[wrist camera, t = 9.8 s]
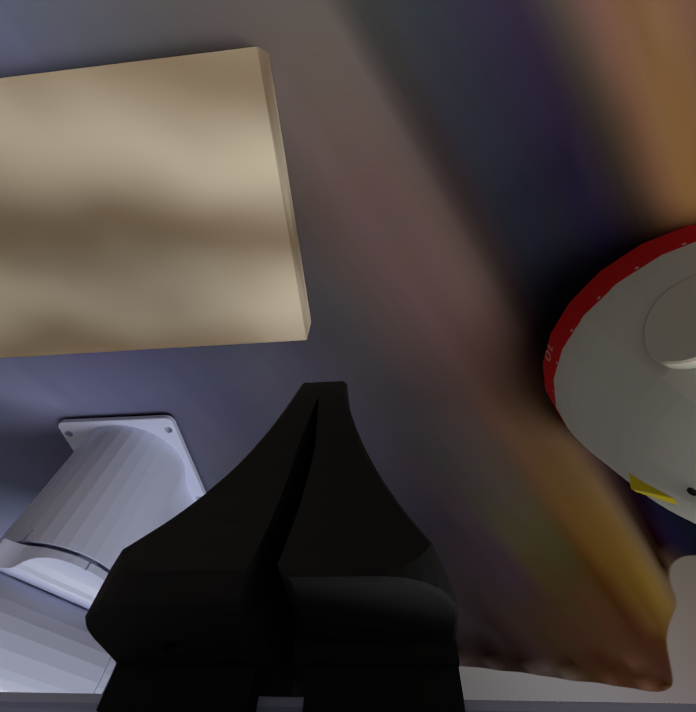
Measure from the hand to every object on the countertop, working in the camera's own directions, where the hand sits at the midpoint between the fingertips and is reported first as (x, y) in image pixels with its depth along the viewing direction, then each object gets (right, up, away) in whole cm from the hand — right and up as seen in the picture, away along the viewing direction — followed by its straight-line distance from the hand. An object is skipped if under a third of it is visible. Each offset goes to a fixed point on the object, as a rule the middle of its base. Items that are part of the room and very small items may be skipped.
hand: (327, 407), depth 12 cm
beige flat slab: (-12, +8, +7) cm, 16 cm away
